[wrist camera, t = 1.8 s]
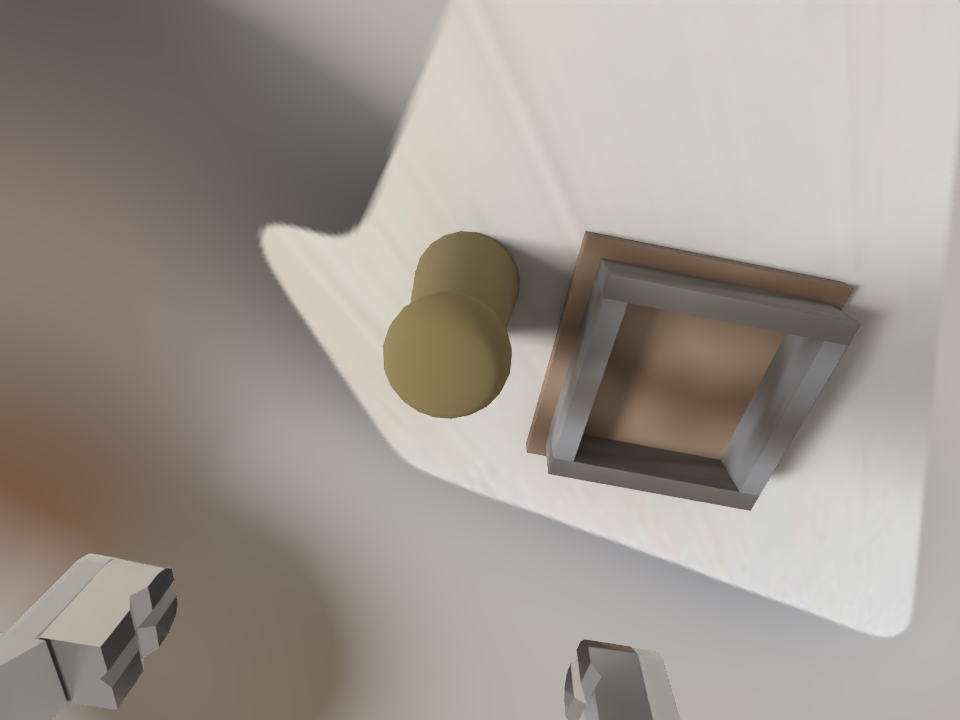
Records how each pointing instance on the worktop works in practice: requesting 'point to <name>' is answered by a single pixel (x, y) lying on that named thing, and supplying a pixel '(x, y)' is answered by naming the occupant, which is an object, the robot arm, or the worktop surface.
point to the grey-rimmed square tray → (684, 370)
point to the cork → (454, 328)
